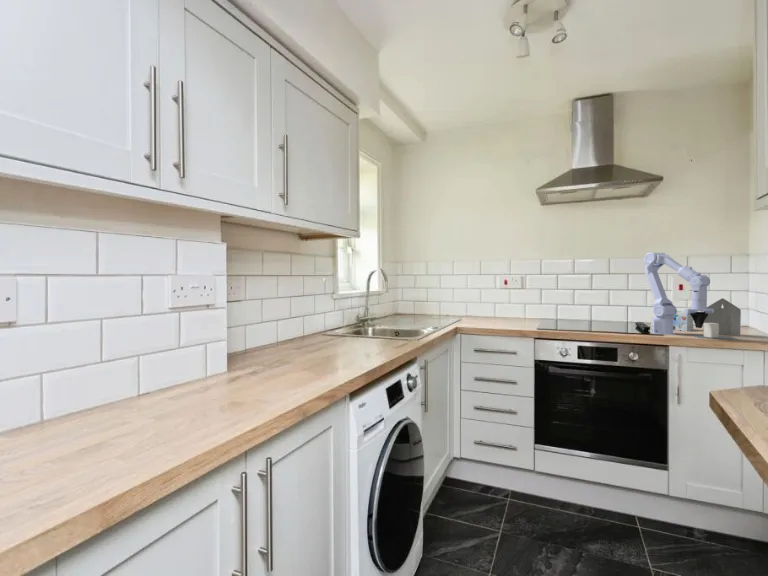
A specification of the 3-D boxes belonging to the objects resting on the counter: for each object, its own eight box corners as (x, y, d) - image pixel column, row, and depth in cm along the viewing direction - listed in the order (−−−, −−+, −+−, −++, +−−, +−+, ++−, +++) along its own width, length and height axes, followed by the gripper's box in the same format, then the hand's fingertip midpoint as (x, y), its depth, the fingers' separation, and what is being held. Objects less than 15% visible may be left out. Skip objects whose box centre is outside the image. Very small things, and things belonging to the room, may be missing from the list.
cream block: (711, 338, 192) (711, 323, 192) (703, 337, 196) (703, 322, 196) (718, 338, 193) (718, 323, 192) (710, 336, 197) (710, 322, 196)
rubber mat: (699, 339, 192) (699, 338, 192) (690, 335, 204) (690, 334, 203) (740, 341, 186) (740, 340, 186) (729, 337, 198) (729, 336, 198)
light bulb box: (666, 329, 229) (666, 310, 228) (672, 328, 232) (673, 310, 232) (687, 331, 219) (687, 312, 219) (693, 330, 222) (694, 311, 222)
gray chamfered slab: (730, 333, 211) (731, 297, 210) (740, 336, 203) (741, 298, 202) (695, 332, 214) (696, 297, 214) (703, 334, 207) (704, 298, 206)
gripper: (693, 300, 188) (693, 329, 188) (720, 300, 190) (719, 328, 190) (680, 299, 195) (680, 327, 195) (706, 299, 197) (705, 326, 197)
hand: (698, 327), depth 193 cm, fingers closed
